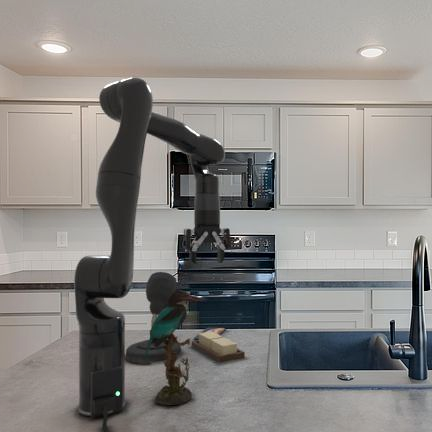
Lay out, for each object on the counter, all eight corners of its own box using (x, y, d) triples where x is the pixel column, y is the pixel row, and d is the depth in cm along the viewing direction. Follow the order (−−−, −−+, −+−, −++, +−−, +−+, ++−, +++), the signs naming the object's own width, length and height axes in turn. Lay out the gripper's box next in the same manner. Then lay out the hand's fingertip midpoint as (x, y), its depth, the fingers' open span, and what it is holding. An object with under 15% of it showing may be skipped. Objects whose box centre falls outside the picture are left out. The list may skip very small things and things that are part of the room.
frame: (244, 358, 132) (244, 352, 132) (219, 364, 127) (219, 357, 127) (214, 343, 148) (214, 337, 148) (191, 347, 143) (191, 341, 143)
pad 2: (236, 357, 132) (236, 343, 132) (223, 360, 129) (223, 346, 129) (224, 350, 138) (224, 337, 138) (210, 353, 136) (210, 339, 136)
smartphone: (226, 328, 164) (214, 339, 149) (226, 330, 164) (214, 342, 149) (206, 327, 165) (192, 338, 150) (206, 329, 165) (192, 340, 150)
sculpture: (202, 407, 98) (202, 293, 98) (139, 406, 99) (139, 292, 99) (211, 392, 106) (211, 287, 106) (153, 391, 107) (153, 286, 107)
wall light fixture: (189, 270, 148) (173, 275, 128) (189, 346, 147) (172, 364, 127) (142, 270, 148) (118, 275, 128) (141, 346, 147) (117, 363, 127)
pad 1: (222, 349, 139) (222, 336, 139) (209, 352, 136) (209, 339, 136) (211, 343, 146) (211, 331, 146) (198, 345, 143) (198, 333, 143)
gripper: (189, 208, 127) (189, 266, 127) (234, 209, 135) (234, 263, 135) (179, 209, 133) (179, 263, 133) (223, 209, 141) (223, 261, 141)
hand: (207, 263), depth 134 cm, fingers open, 8 cm apart
